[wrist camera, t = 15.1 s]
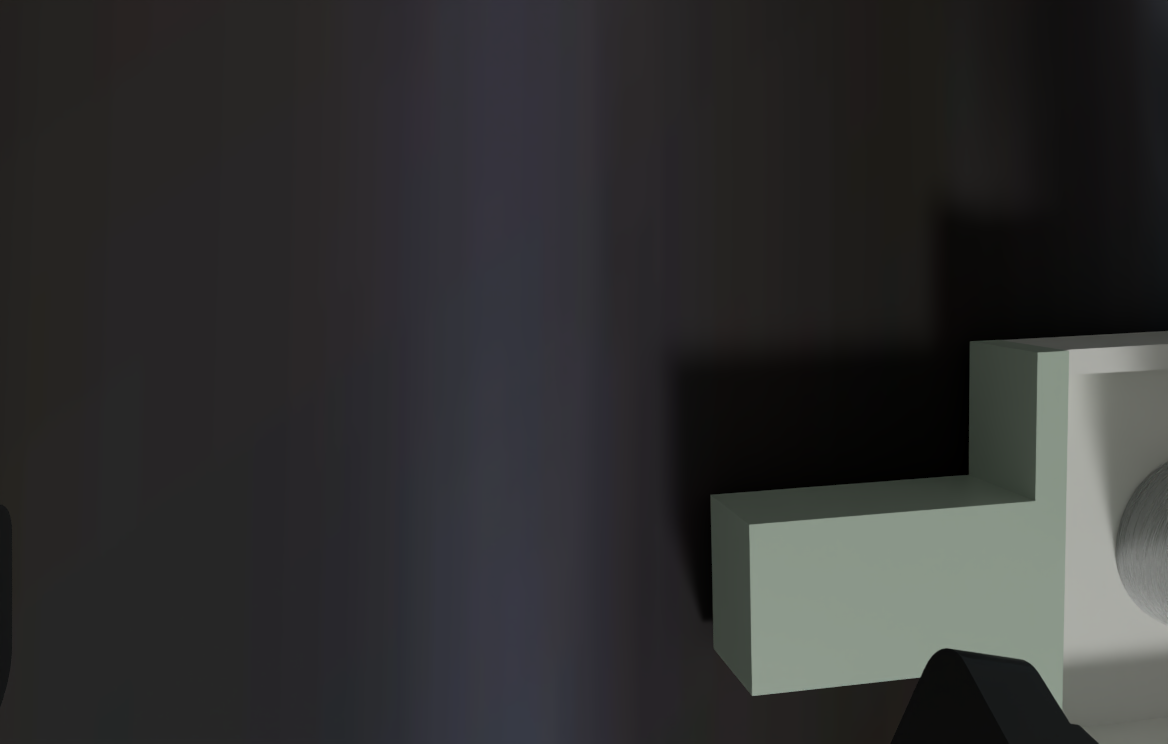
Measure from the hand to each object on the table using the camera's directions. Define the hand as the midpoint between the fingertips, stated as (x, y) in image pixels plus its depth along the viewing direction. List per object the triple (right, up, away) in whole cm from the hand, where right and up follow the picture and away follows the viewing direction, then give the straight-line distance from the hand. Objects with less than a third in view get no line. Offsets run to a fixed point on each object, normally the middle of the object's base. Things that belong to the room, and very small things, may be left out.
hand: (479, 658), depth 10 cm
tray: (+13, -2, +20) cm, 24 cm away
